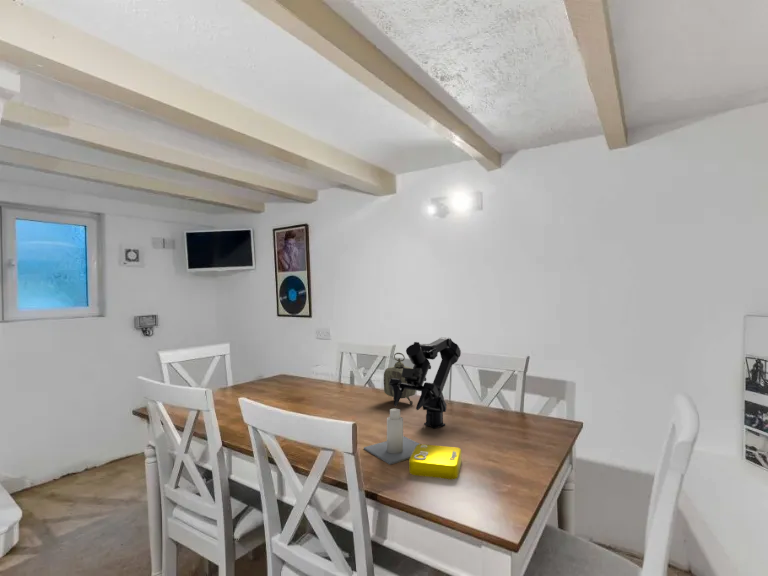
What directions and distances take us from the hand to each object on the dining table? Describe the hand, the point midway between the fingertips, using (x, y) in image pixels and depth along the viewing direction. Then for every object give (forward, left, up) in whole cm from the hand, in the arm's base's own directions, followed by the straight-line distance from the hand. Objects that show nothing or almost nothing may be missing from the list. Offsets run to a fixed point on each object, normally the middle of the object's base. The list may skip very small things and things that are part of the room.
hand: (405, 407), depth 146 cm
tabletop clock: (-30, -44, -14) cm, 55 cm away
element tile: (+3, +20, -14) cm, 24 cm away
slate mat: (+5, +2, -13) cm, 15 cm away
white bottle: (+7, +3, -13) cm, 15 cm away
